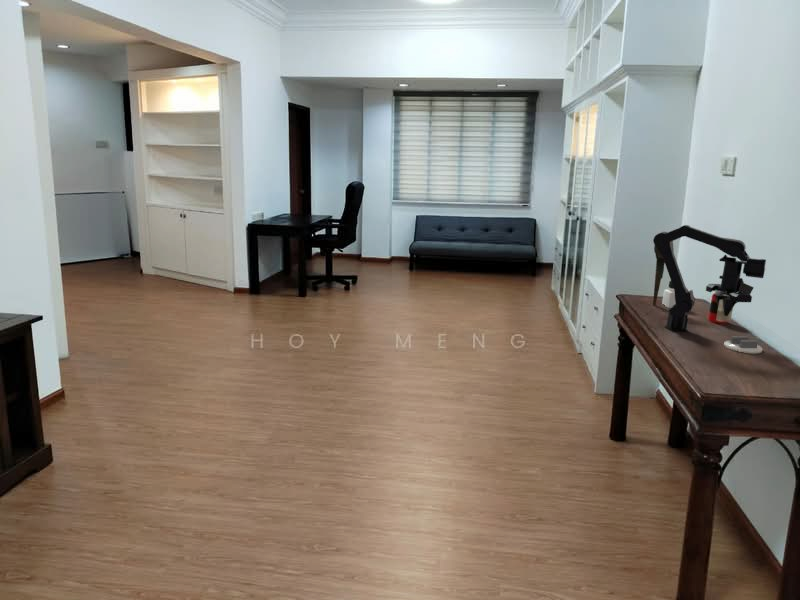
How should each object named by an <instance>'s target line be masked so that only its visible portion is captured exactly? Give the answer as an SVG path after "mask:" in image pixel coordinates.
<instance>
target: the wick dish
mask: <svg viewBox="0 0 800 600" xmlns="http://www.w3.org/2000/svg"><path fill="white" fill-rule="evenodd" d="M758 343H759V341H758V340H752V339H751V340H749V336H746V335H745V336H744V335H740V336H739V335H735V336H733V335H732V336H731V337H730V340H724V342H723V346H724V347H725V348H727V349H729V350H730V351H734V352H737V351H738V352H737V353H742V352H743V353H744V354H762V353H763V347H762V346H760V345H759V344H758Z"/></svg>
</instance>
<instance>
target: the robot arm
mask: <svg viewBox="0 0 800 600" xmlns="http://www.w3.org/2000/svg"><path fill="white" fill-rule="evenodd" d="M682 237H685V238H689V239H692V240H694V241H698V242H701V243H703V244H706V245H708V246H712V247H714V248H716V249H718V250H719V251H721V252H723V253H724V255H723V256H722V257H721V258H720V259H719V262H724V266H723V271H722V275H719V277H718V278H719V279H721V282H720V283H708V284H707V285H706V286H705V291H706V292H708V293H712V292H714V293H715V294H714V293H713V294H712V295H713V296H714V297H715V299H716V302H717V305H718V306H719V300H723V306H724V315H725V316H728V315H729V313H730V311H731V310H732V308H733V309H734V307H735V305H736V304H738V303H752V300H753V297H752V295H751V294H752V293H753V290H754V286H752V285H749V284H747V283H745V282H744V279H743V278H742V277H741V272H742V274H744V275H745V277H748V278H749V277H751V278H758V279H764V276H765V272H766V262H767V259H764V258H752V257H750V256H749V254H748V253H747V251H746V248H747V247H746V244H745V242H744V241H742V240H740V239H736V238H735V239H734V238H729V237H721V236H718V235H714V234H712V233H709V232H706V231H704V230H700V229H699V228H698V229H697V228H695V227H692V226H690V225H688V224H683V225H682V226H680V227H678V228H675V229H672V230H671V231H668V232H667V231H661V232H659V233H657V234H655V236H654V237H653V240H652V241H653V245H654V246H656V248H657V250H658V251H659V253H660V254H661V255H662V257H663V259H664V262H665V264H664V266H665V267H666V269H667V272H668V275H669V279H670V281H671V282H672V285H673V288H674V291H675V302H676V304H675V305H673V306H672V307H671V308H668V314H667V321H666V324H665V325H664V326H663V327H664V328H666V329H668V330H669V331H673V332H688V331H689V330H688V328H687V327H688V324H689V323H688V322H689V316H688V314H687V313H689V312H690V311H692V309H693V308H694V307H695V304H696V303H695V301H696V299H697V298H696V297H695V295H694V291H693V289H690V290H689V289H688V288H687V286H686V284H685V281H684V278H683V276H682V273H681V270H680V268H679V267H680V266H679V264H678V262H677V259H676V255H675V252H674V241H676V240H678V239H681V238H682ZM737 259H738V260H737ZM742 267H743V269H742ZM732 311H733V310H732Z"/></svg>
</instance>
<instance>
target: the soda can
mask: <svg viewBox="0 0 800 600" xmlns="http://www.w3.org/2000/svg"><path fill="white" fill-rule="evenodd" d="M713 294H715V292H714V293H713ZM713 294H711V300H710V301H711V302H710V306H709V312H708V318H707V320H708V322H711V323H715V324H722V325H724V324H728V323H729V322H719V321H717V320H716V317H717V312H718V305H717V302H716V299H715V297H714V296H713Z"/></svg>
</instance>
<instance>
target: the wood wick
mask: <svg viewBox="0 0 800 600" xmlns="http://www.w3.org/2000/svg"><path fill="white" fill-rule="evenodd" d="M733 309H734V307H733V308H732V310H731V311H730V313H729V315H728V316H725V315H724V306H723V300H719V306H718V312H717V317H716V320H717V321H719V322H728V323H731V321H732V315H733Z"/></svg>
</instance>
